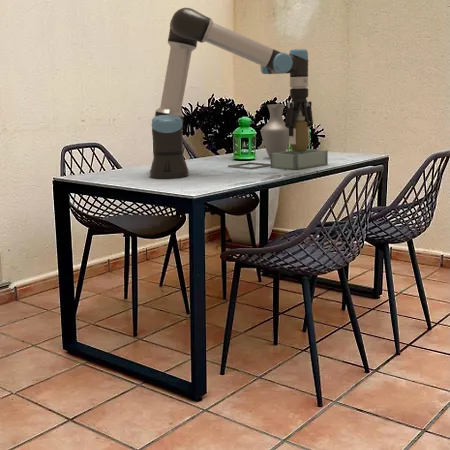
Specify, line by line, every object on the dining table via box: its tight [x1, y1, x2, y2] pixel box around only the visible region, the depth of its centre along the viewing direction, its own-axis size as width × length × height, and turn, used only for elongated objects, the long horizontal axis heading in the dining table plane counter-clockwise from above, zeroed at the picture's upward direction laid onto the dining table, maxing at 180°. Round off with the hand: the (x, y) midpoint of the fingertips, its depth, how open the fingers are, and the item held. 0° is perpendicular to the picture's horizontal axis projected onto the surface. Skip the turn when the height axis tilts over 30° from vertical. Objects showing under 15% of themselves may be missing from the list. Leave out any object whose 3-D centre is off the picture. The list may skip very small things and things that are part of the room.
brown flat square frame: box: [227, 161, 271, 170], centre depth 274 cm, size 14×14×1 cm
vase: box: [260, 103, 290, 159], centre depth 297 cm, size 14×14×25 cm
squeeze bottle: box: [289, 111, 310, 152], centre depth 266 cm, size 8×8×18 cm
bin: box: [269, 148, 329, 171], centre depth 269 cm, size 21×14×6 cm, turn 134°
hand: (299, 143), depth 268 cm, fingers closed on squeeze bottle, 8 cm apart
